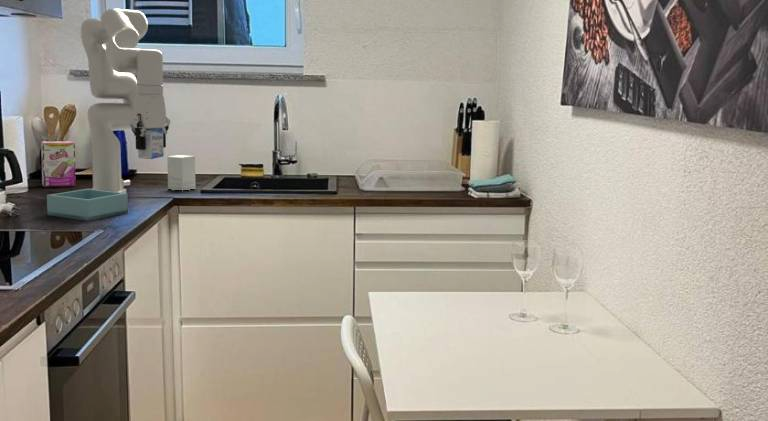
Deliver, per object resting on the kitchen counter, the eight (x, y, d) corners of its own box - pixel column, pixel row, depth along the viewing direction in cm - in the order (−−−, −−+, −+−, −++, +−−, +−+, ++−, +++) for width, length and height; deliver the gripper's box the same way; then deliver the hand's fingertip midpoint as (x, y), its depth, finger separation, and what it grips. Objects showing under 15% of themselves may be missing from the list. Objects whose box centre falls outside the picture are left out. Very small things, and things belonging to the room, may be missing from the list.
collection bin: (88, 207, 238) (87, 188, 237) (128, 212, 232) (127, 193, 231) (47, 215, 224) (46, 195, 223) (88, 220, 217) (87, 200, 216)
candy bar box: (43, 187, 275) (41, 142, 272) (42, 185, 279) (40, 141, 276) (76, 186, 281) (75, 142, 278) (74, 184, 285) (72, 140, 282)
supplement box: (196, 189, 283) (195, 155, 280) (182, 191, 276) (182, 157, 274) (181, 187, 286) (180, 154, 284) (167, 189, 279) (166, 155, 277)
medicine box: (151, 159, 227) (151, 130, 225) (137, 158, 228) (137, 129, 226) (164, 156, 235) (163, 128, 233) (150, 155, 235) (150, 127, 234)
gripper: (159, 90, 237) (160, 145, 240) (119, 90, 221) (121, 149, 224) (178, 91, 234) (179, 147, 237) (140, 91, 218) (141, 151, 221)
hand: (151, 148), depth 231 cm, fingers closed on medicine box, 8 cm apart
